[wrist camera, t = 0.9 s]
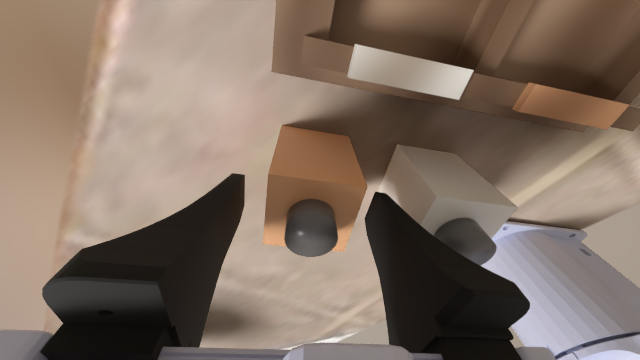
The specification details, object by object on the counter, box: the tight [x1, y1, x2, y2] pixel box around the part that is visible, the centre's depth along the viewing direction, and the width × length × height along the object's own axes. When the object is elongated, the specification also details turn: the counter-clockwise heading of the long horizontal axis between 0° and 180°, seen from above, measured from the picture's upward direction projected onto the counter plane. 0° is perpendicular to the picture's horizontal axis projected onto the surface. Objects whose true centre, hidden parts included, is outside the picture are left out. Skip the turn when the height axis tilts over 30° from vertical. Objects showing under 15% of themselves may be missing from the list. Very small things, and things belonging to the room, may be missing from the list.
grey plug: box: [378, 144, 518, 266], centre depth 14 cm, size 4×4×7 cm
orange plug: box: [263, 125, 367, 257], centre depth 13 cm, size 4×4×7 cm
